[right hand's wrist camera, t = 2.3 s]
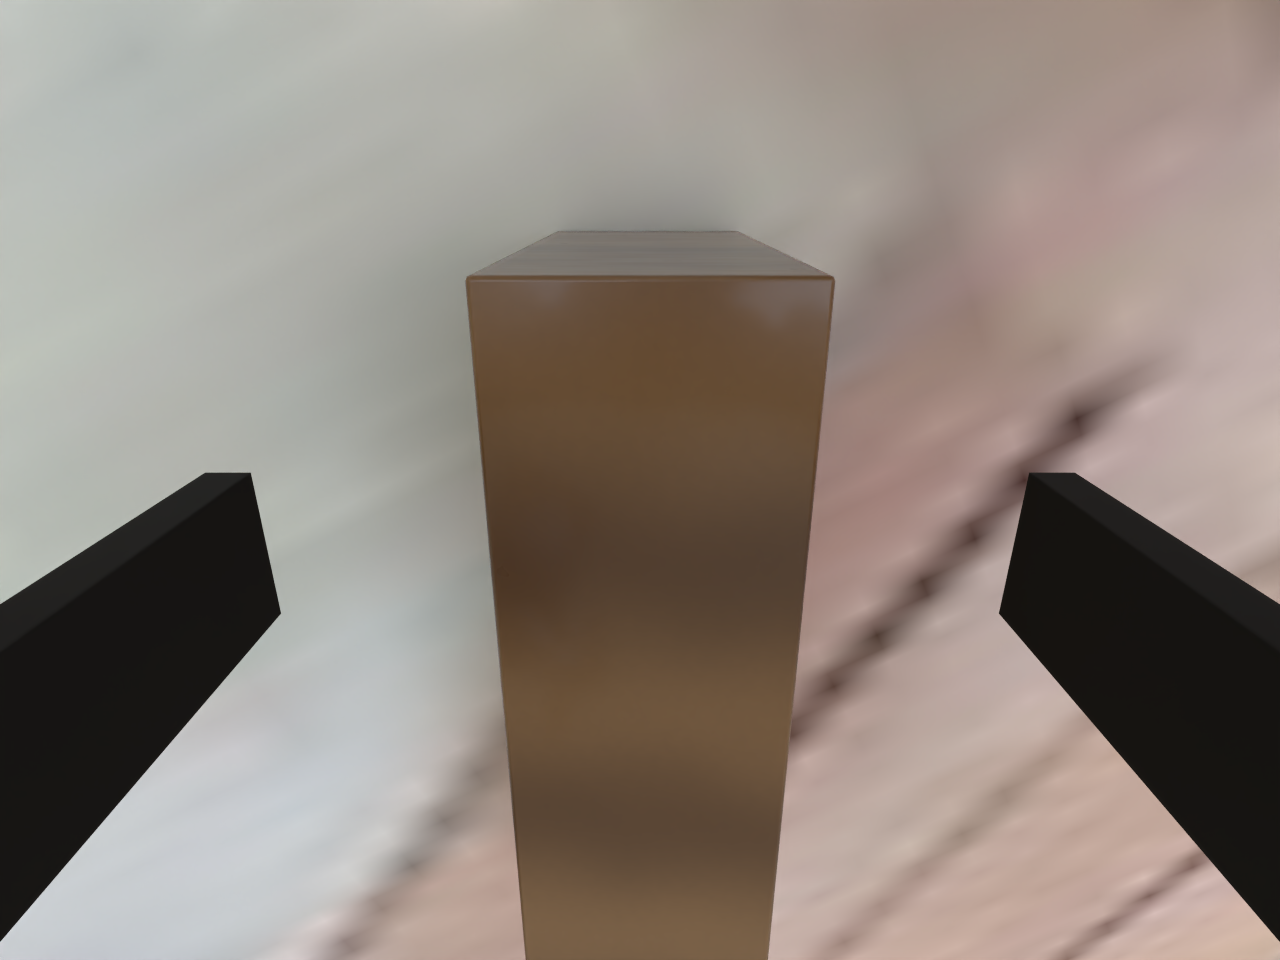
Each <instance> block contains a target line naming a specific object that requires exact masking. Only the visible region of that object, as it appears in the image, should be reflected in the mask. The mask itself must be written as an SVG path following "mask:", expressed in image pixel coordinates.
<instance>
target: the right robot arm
mask: <svg viewBox="0 0 1280 960" xmlns="http://www.w3.org/2000/svg"><path fill="white" fill-rule="evenodd" d="M280 614H281V611H280V607H279V602H278V597H277V593H276V588H275V583H274V579H273V574H272V570H271V565H270V560H269V556H268V551H267V546H266V542H265V537H264V532H263V528H262V523H261V518H260V514H259V509H258V505H257V500H256V495H255V491H254V486H253V481H252V477H251V473H204V474H203V475H201V476H199V477H198V478H196V479H195V480H193V481H192V482H190V483H189V484H187V485H185V486H184V487H182V488H181V489H179V490H178V491H176V492H175V493H173V494H171V495H170V496H168V497H167V498H165V499H164V500H162V501H160V502H159V503H157V504H156V505H154V506H153V507H151V508H150V509H148V510H146V511H145V512H143V513H142V514H140V515H139V516H137V517H136V518H134V519H132V520H131V521H129V522H128V523H126V524H125V525H123V526H122V527H120V528H118V529H117V530H115V531H114V532H112V533H111V534H109V535H108V536H106V537H104V538H103V539H101V540H100V541H98V542H97V543H95V544H94V545H92V546H90V547H89V548H87V549H86V550H84V551H83V552H81V553H79V554H78V555H76V556H75V557H73V558H72V559H70V560H69V561H67V562H65V563H64V564H62V565H61V566H59V567H58V568H56V569H55V570H53V571H51V572H50V573H48V574H47V575H45V576H44V577H42V578H41V579H39V580H37V581H36V582H34V583H33V584H31V585H30V586H28V587H27V588H25V589H23V590H22V591H20V592H19V593H17V594H16V595H14V596H13V597H11V598H9V599H8V600H6V601H5V602H3V603H2V604H0V941H1V940H2V939H3V938H4V937H5V936H6V934H7V933H8V932H9V931H10V930H11V929H12V927H13V926H14V925H15V924H16V923H17V921H18V920H19V919H20V918H21V917H22V916H23V914H24V913H25V912H26V911H27V910H28V909H29V907H30V906H31V905H32V904H33V903H34V902H35V900H36V899H37V898H38V897H39V896H40V895H41V893H42V892H43V891H44V890H45V889H46V888H47V886H48V885H49V884H50V883H51V882H52V881H53V879H54V878H55V877H56V876H57V875H58V874H59V872H60V871H61V870H62V869H63V868H64V867H65V865H66V864H67V863H68V862H69V861H70V860H71V858H72V857H73V856H74V855H75V854H76V853H77V851H78V850H79V849H80V848H81V847H82V845H83V844H84V843H85V842H86V841H87V840H88V838H89V837H90V836H91V835H92V834H93V833H94V831H95V830H96V829H97V828H98V827H99V826H100V824H101V823H102V822H103V821H104V820H105V819H106V817H107V816H108V815H109V814H110V813H111V812H112V810H113V809H114V808H115V807H116V806H117V805H118V803H119V802H120V801H121V800H122V799H123V798H124V796H125V795H126V794H127V793H128V792H129V791H130V789H131V788H132V787H133V786H134V785H135V784H136V782H137V781H138V780H139V779H140V778H141V777H142V775H143V774H144V773H145V772H146V771H147V769H148V768H149V767H150V766H151V765H152V764H153V762H154V761H155V760H156V759H157V758H158V757H159V755H160V754H161V753H162V752H163V751H164V750H165V748H166V747H167V746H168V745H169V744H170V743H171V741H172V740H173V739H174V738H175V737H176V736H177V734H178V733H179V732H180V731H181V730H182V729H183V727H184V726H185V725H186V724H187V723H188V722H189V720H190V719H191V718H192V717H193V716H194V715H195V713H196V712H197V711H198V710H199V709H200V708H201V706H202V705H203V704H204V703H205V702H206V701H207V699H208V698H209V697H210V696H211V695H212V693H213V692H214V691H215V690H216V689H217V688H218V686H219V685H220V684H221V683H222V682H223V681H224V679H225V678H226V677H227V676H228V675H229V674H230V672H231V671H232V670H233V669H234V668H235V667H236V665H237V664H238V663H239V662H240V661H241V660H242V658H243V657H244V656H245V655H246V654H247V653H248V651H249V650H250V649H251V648H252V647H253V646H254V644H255V643H256V642H257V641H258V640H259V639H260V637H261V636H262V635H263V634H264V633H265V632H266V630H267V629H268V628H269V627H270V626H271V625H272V623H273V622H274V621H275V620H276V619H277V617H278V616H279V615H280ZM999 614H1000V615H1001V616H1002V617H1003V619H1004V620H1005V621H1006V622H1007V623H1008V625H1009V626H1010V627H1011V628H1012V629H1013V630H1014V632H1015V633H1016V634H1017V635H1018V636H1019V637H1020V639H1021V640H1022V641H1023V642H1024V643H1025V644H1026V646H1027V647H1028V648H1029V649H1030V650H1031V651H1032V653H1033V654H1034V655H1035V656H1036V657H1037V658H1038V660H1039V661H1040V662H1041V663H1042V664H1043V665H1044V667H1045V668H1046V669H1047V670H1048V671H1049V672H1050V674H1051V675H1052V676H1053V677H1054V678H1055V679H1056V681H1057V682H1058V683H1059V684H1060V685H1061V686H1062V688H1063V689H1064V690H1065V691H1066V692H1067V693H1068V695H1069V696H1070V697H1071V698H1072V699H1073V701H1074V702H1075V703H1076V704H1077V705H1078V706H1079V708H1080V709H1081V710H1082V711H1083V712H1084V713H1085V715H1086V716H1087V717H1088V718H1089V719H1090V720H1091V722H1092V723H1093V724H1094V725H1095V726H1096V727H1097V729H1098V730H1099V731H1100V732H1101V733H1102V734H1103V736H1104V737H1105V738H1106V739H1107V740H1108V741H1109V743H1110V744H1111V745H1112V746H1113V747H1114V748H1115V750H1116V751H1117V752H1118V753H1119V754H1120V755H1121V757H1122V758H1123V759H1124V760H1125V761H1126V762H1127V764H1128V765H1129V766H1130V767H1131V768H1132V769H1133V771H1134V772H1135V773H1136V774H1137V775H1138V777H1139V778H1140V779H1141V780H1142V781H1143V782H1144V784H1145V785H1146V786H1147V787H1148V788H1149V789H1150V791H1151V792H1152V793H1153V794H1154V795H1155V796H1156V798H1157V799H1158V800H1159V801H1160V802H1161V803H1162V805H1163V806H1164V807H1165V808H1166V809H1167V810H1168V812H1169V813H1170V814H1171V815H1172V816H1173V817H1174V819H1175V820H1176V821H1177V822H1178V823H1179V824H1180V826H1181V827H1182V828H1183V829H1184V830H1185V831H1186V833H1187V834H1188V835H1189V836H1190V837H1191V838H1192V840H1193V841H1194V842H1195V843H1196V844H1197V845H1198V847H1199V848H1200V849H1201V850H1202V851H1203V853H1204V854H1205V855H1206V856H1207V857H1208V858H1209V860H1210V861H1211V862H1212V863H1213V864H1214V865H1215V867H1216V868H1217V869H1218V870H1219V871H1220V872H1221V874H1222V875H1223V876H1224V877H1225V878H1226V879H1227V881H1228V882H1229V883H1230V884H1231V885H1232V886H1233V888H1234V889H1235V890H1236V891H1237V892H1238V893H1239V895H1240V896H1241V897H1242V898H1243V899H1244V900H1245V902H1246V903H1247V904H1248V905H1249V906H1250V907H1251V909H1252V910H1253V911H1254V912H1255V913H1256V914H1257V916H1258V917H1259V918H1260V919H1261V920H1262V921H1263V923H1264V924H1265V925H1266V926H1267V927H1268V929H1269V930H1270V931H1271V932H1272V933H1273V934H1274V936H1275V937H1276V938H1277V939H1278V940H1279V941H1280V604H1278V603H1277V602H1275V601H1274V600H1272V599H1271V598H1269V597H1267V596H1266V595H1264V594H1263V593H1261V592H1260V591H1258V590H1257V589H1255V588H1253V587H1252V586H1250V585H1249V584H1247V583H1246V582H1244V581H1243V580H1241V579H1239V578H1238V577H1236V576H1235V575H1233V574H1232V573H1230V572H1229V571H1227V570H1225V569H1224V568H1222V567H1221V566H1219V565H1218V564H1216V563H1215V562H1213V561H1211V560H1210V559H1208V558H1207V557H1205V556H1204V555H1202V554H1201V553H1199V552H1197V551H1196V550H1194V549H1193V548H1191V547H1190V546H1188V545H1186V544H1185V543H1183V542H1182V541H1180V540H1179V539H1177V538H1176V537H1174V536H1172V535H1171V534H1169V533H1168V532H1166V531H1165V530H1163V529H1162V528H1160V527H1158V526H1157V525H1155V524H1154V523H1152V522H1151V521H1149V520H1148V519H1146V518H1144V517H1143V516H1141V515H1140V514H1138V513H1137V512H1135V511H1134V510H1132V509H1130V508H1129V507H1127V506H1126V505H1124V504H1123V503H1121V502H1120V501H1118V500H1116V499H1115V498H1113V497H1112V496H1110V495H1109V494H1107V493H1105V492H1104V491H1102V490H1101V489H1099V488H1098V487H1096V486H1095V485H1093V484H1091V483H1090V482H1088V481H1087V480H1085V479H1084V478H1082V477H1081V476H1079V475H1077V474H1076V473H1029V477H1028V481H1027V486H1026V491H1025V495H1024V500H1023V505H1022V509H1021V514H1020V518H1019V523H1018V528H1017V532H1016V537H1015V542H1014V546H1013V551H1012V556H1011V560H1010V565H1009V570H1008V574H1007V579H1006V583H1005V588H1004V593H1003V597H1002V602H1001V607H1000V611H999Z"/></svg>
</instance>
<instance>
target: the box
mask: <svg viewBox="0 0 1280 960" xmlns="http://www.w3.org/2000/svg"><path fill="white" fill-rule="evenodd" d="M465 282H466V293H467V305H468V316H469V327H470V338H471V350H472V361H473V372H474V383H475V395H476V406H477V417H478V428H479V440H480V451H481V462H482V473H483V485H484V496H485V507H486V518H487V530H488V541H489V552H490V563H491V575H492V586H493V597H494V608H495V620H496V631H497V642H498V653H499V665H500V676H501V687H502V698H503V710H504V721H505V732H506V743H507V755H508V766H509V777H510V788H511V800H512V811H513V822H514V833H515V845H516V856H517V867H518V878H519V890H520V901H521V912H522V923H523V935H524V946H525V957H526V960H768V952H769V942H770V932H771V922H772V912H773V902H774V892H775V882H776V872H777V862H778V852H779V841H780V831H781V821H782V811H783V801H784V791H785V781H786V771H787V761H788V751H789V741H790V731H791V721H792V711H793V701H794V691H795V680H796V670H797V660H798V650H799V640H800V630H801V620H802V610H803V600H804V590H805V580H806V570H807V560H808V550H809V540H810V529H811V519H812V509H813V499H814V489H815V479H816V469H817V459H818V449H819V439H820V429H821V419H822V409H823V399H824V389H825V379H826V368H827V358H828V348H829V338H830V328H831V318H832V308H833V298H834V288H835V279H834V277H833V276H830V275H828V274H826V273H824V272H822V271H820V270H818V269H816V268H814V267H812V266H809V265H807V264H805V263H803V262H801V261H799V260H797V259H795V258H793V257H791V256H788V255H786V254H784V253H782V252H780V251H778V250H776V249H774V248H772V247H769V246H767V245H765V244H763V243H761V242H759V241H757V240H755V239H753V238H751V237H748V236H746V235H744V234H742V233H740V232H667V231H558V232H556V233H554V234H552V235H550V236H548V237H546V238H544V239H542V240H540V241H538V242H536V243H534V244H532V245H530V246H528V247H526V248H524V249H522V250H520V251H518V252H516V253H514V254H512V255H510V256H508V257H506V258H504V259H502V260H500V261H498V262H496V263H493V264H491V265H489V266H487V267H485V268H483V269H481V270H479V271H477V272H475V273H473V274H471V275H469V276H467V278H466V281H465Z"/></svg>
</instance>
